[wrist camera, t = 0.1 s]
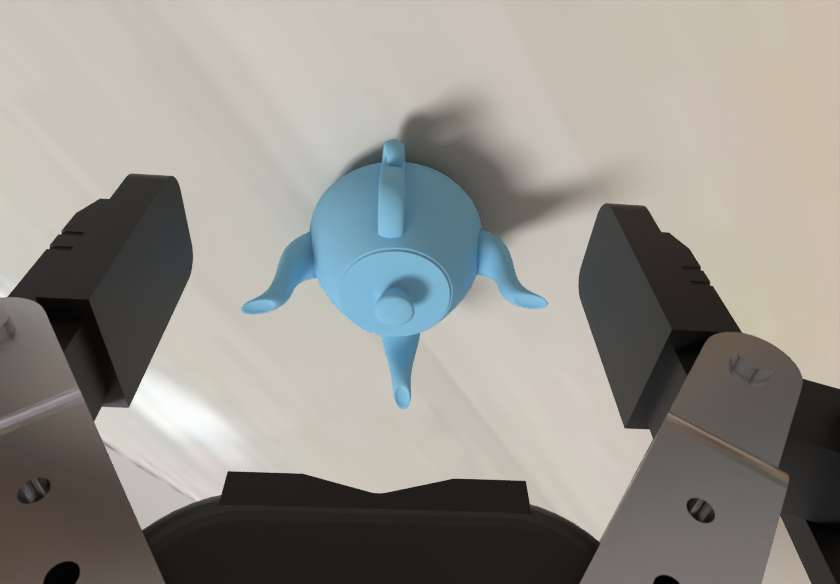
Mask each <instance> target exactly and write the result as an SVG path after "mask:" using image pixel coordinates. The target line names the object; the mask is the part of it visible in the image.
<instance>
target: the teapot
mask: <svg viewBox="0 0 840 584" xmlns="http://www.w3.org/2000/svg"><path fill="white" fill-rule="evenodd" d="M477 274H478V275H483V276H486V277H489V278H491V279H493V280H494V281H495V282H496V283H497V285H498V288H499V291H500V293H501V294H502V296H503V297H504V298H505V299H506V300H508V301H509V302H511V303H512V304H514V305H517V306H519V307H523V308H529V309H540V308H544V307H546V306H547V304H548V303H547V301H546V300H545V299H544V298H542V297H541V296H539V295H536V294H534V293H532V292H530V291H528V290H527V289H526V288H524V287H523V286H522V285H521V283H520V282H519V280H518V279H517V276H516V273H515V270H514V266H513V262H512V258H511V255H510V252H509V251H508V249H507V247H506V245H505V244H504V243H503V242H502V240H501V239H500V238H498V237H497V236H495V235H494V234H492V233H490V232H488V231H486V230H484V229H482V226H481V220H480V217H479V214H478V211H477V209H476V207H475V205H474V203H473V201H472V200H471V198H470V197H469V196H468V194H467V193H466V192H465V191H464V190H463V189H462V188H461V187H460V186H459V185H458V184H457V183H456V182H454V181H453V180H452V179H450V178H449V177H447V176H446V175H444V174H442V173H441V172H439V171H436V170H434V169H432V168H430V167H426V166H423V165H419V164H415V163H408V162H405V144H404V143H402V142H401V141H398V140H395V139H393V140H389V141H387V142H385V144H384V148H383V157H382V162H381V163H376V164H371V165H367V166H364V167H361V168H358V169H356V170H354V171H352V172H350V173H348V174H346V175H345V176H343V177H342V178H340V179H339V180H337V181H336V182H335V183H334V184H333V185H332V186H331V187H329V188H328V190H327V191H326V192H325V193H324V194H323V195H322V197H321V199H320V200H319V202H318V203H317V205H316V208H315V210H314V212H313V216H312V220H311V225H310V232H308V233H306V234H304V235H302V236H300V237H298V238H297V239H295V240H294V241H293V242H291V243H290V244H289V245H288V246H287V247H286V249H285V250H284V252H283V254H282V256H281V258H280V261H279V264H278V268H277V271H276V275H275V278H274V280H273V282H272V284H271V286H270V287H269V289H268V290H267V291H266V292H265V293H263V294H262V295H260V296H259V297H257V298H255V299H253V300H251V301H249V302H247V303H245V304H244V305H243V306H242V307H241V311H242V312H243V313H246V314H262V313H267V312H270V311H273V310H275V309H277V308H279V307H280V306H282V305H283V304H284V303H285V302H286V301H287V300H288V299H289V298H290V296H291V294H292V292H293V290H294V288H295V287H296V286H297V285H298V284H299V283H301V282H303V281H306V280H308V279H312V278H316V277H317V279H318V281H319V283H320V285H321V287H322V289H323V290H324V292H325V294H326V295H327V296H328V298H329V299H330V300H331V302H332V303H333V304H334V305H335V306H336V307H337V309H338V310H339V311H340V312H341V313H342V314H343V315H344V316H345V317H346V318H347V319H349V320H350V321H351V322H353V323H354V324H356V325H357V326H359V327H360V328H362V329H364V330H366V331H368V332H371V333H374V334H378V335H381V339H382V342H383V346H384V350H385V353H386V357H387V360H388V364H389V368H390V372H391V378H392V386H393V395H394V399H395V402H396V404H397V405H398V407H399V408H401V409H406V408H407V407H408V406H409V403H410V399H411V372H412V366H413V361H414V357H415V354H416V350H417V346H418V342H419V336H420V332H423V331H425V330H427V329H429V328H431V327H432V326H434V325H436V324H437V323H439V322H440V321H441V320H443V319H444V318H445V317H446V316H447V315H448V314H449V313H450V312H451V311H452V310H453V309H454V308H455V307H456V306H457V305H458V304H459V303H460V302H461V301H462V299H463V298H464V297H465V295H466V294H467V292H468V291H469V289H470V287H471V285H472V283H473V281H474V279H475V277H476V275H477Z"/></svg>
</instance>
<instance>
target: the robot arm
mask: <svg viewBox="0 0 840 584" xmlns="http://www.w3.org/2000/svg"><path fill="white" fill-rule="evenodd" d="M192 262H193V251H192V243H191V239H190V234H189V229H188V224H187V219H186V214H185V210H184V205H183V200H182V195H181V190H180V186H179V184H178V181H177V180H176V178H175V177H173V176H162V175H146V174H129V175H128V176H127V177H126V178H125V179H124V181H123V182H122V183H121V185H120V186H119V187H118V189H117V190H116V191H115V193H114V194H113V195H112V197H111V198H110V199H99V200H97V201H96V202H94V203H92V204H91V205H89V206H87V207H86V208H84V209H82V210H81V211H79V212H77V213H76V214H75V215H74V216H73V218H72V219H71V220H70V221H69V222H68V224H67V225H66V226H65V227H64V229H63V230H62V234H61V235H58V236H57V237H56V238H55V240H54V241H53V242H52V243H51V244H50V249H46V251H45V252H44V253H43V254H42V255H41V257H40V258H39V259H38V260H37V262H36V263H35V264H34V265H33V266H32V268H31V269H30V270H29V271H28V273H27V274H26V275H25V276H24V277H23V279H22V280H21V281H20V282H19V284H18V285H17V286H16V287H15V289H14V290H13V291H12V292H11V293H10V295H9V296H8V297H5V298H0V584H761V583H762V579H763V576H764V572H765V568H766V564H767V561H768V557H769V554H770V549H771V546H772V543H773V539H774V535H775V532H776V528H777V524H778V521H779V517H780V516H781V518H782V520H783V522H784V524H785V527H786V529H787V531H788V533H789V535H790V537H791V540H792V542H793V544H794V546H795V549H796V551H797V553H798V555H799V557H800V559H801V561H802V564H803V566H804V568H805V570H806V572H807V575H808V577H809V579H810V581H811V583H812V584H840V389H837V388H834V387H830V386H826V385H823V384H819V383H815V382H812V381H808V380H805V379H802V375H801V373H800V371H799V369H798V367H797V366H796V364H795V363H794V362H793V361H792V360H791V358H790V357H788V356H787V355H786V354H785V353H784V352H783V351H781V350H780V349H779V348H777V347H776V346H774V345H772V344H771V343H769V342H767V341H765V340H763V339H760V338H758V337H755V336H752V335H748V334H744V333H742V332H741V330H740V329H739V327H738V326H737V324H736V322H735V321H734V319H733V318H732V316H731V314H730V313H729V311H728V310H727V308H726V306H725V305H724V303H723V302H722V300H721V299H720V297H719V295H718V294H717V292H716V291H715V289H714V287H713V286H710V281H709V279H708V278H707V276H706V275H705V273H704V271H701V270H700V268H701V267H700V265H699V263H698V262H697V260H696V259H695V257H694V255H693V254H692V252H691V251H690V249H689V248H687V247H686V246H685V245H684V244H682V243H681V242H680V241H679V240H677V239H676V238H675V237H674V236H672V235H671V234H670V233H665V232H661V231H660V229H659V228H658V226H657V224H656V223H655V221H654V219H653V217H652V216H651V214H650V212H649V211H648V209H647V208H646V207H645V206H640V205H624V204H607V203H606V204H604V205H603V206H602V207H601V208H600V210H599V212H598V215H597V218H596V221H595V224H594V227H593V230H592V234H591V237H590V240H589V243H588V246H587V250H586V253H585V256H584V259H583V262H582V265H581V269H580V274H579V295H580V299H581V303H582V305H583V308H584V311H585V314H586V317H587V320H588V323H589V326H590V329H591V332H592V334H593V337H594V340H595V343H596V346H597V349H598V352H599V355H600V358H601V361H602V364H603V366H604V369H605V372H606V375H607V378H608V381H609V384H610V387H611V390H612V393H613V396H614V398H615V401H616V404H617V407H618V410H619V413H620V416H621V419H622V422H623V425H624V428H631V429H650V431H651V434H652V437H653V441H652V443H651V444H650V446H649V448H648V450H647V452H646V454H645V456H644V458H643V459H642V461H641V463H640V465H639V467H638V469H637V471H636V473H635V475H634V477H633V478H632V480H631V482H630V484H629V486H628V488H627V490H626V492H625V494H624V496H623V497H622V499H621V501H620V503H619V505H618V507H617V509H616V511H615V513H614V515H613V516H612V518H611V520H610V522H609V524H608V526H607V528H606V530H605V532H604V533H603V535H602V537H601V539H600V541H597V540H596V539H595V538H594V537H593V536H591V535H590V534H589V533H588V532H586V531H585V530H583V529H582V528H580V527H579V526H577V525H576V524H574V523H573V522H571V521H569V520H567V519H565V518H563V517H561V516H559V515H558V514H555V513H553V512H550V511H548V510H546V509H543V508H541V507H538V506H534V505H531V504H530V503H529V497H528V492H527V486H526V481H510V480H479V479H450V480H446V481H441V482H436V483H431V484H426V485H422V486H417V487H412V488H407V489H403V490H398V491H393V492H388V493H381V494H379V493H371V492H367V491H363V490H360V489H356V488H352V487H349V486H345V485H341V484H338V483H334V482H331V481H327V480H323V479H320V478H316V477H312V476H309V475H305V474H292V473H261V472H230V471H228V473H227V477H226V480H225V484H224V488H223V491H222V495H219V496H215V497H210V498H207V499H204V500H201V501H198V502H194V503H192V504H190V505H187V506H185V507H183V508H180V509H178V510H175V511H173V512H171V513H170V514H168V515H166V516H164V517H163V518H161V519H159V520H157V521H155V522H154V523H152V524H151V525H149V526H148V527H146V528H145V529H143V530H141V528H140V525H139V523H138V521H137V518H136V516H135V514H134V512H133V509H132V507H131V505H130V503H129V501H128V498H127V496H126V494H125V491H124V489H123V487H122V485H121V482H120V480H119V478H118V476H117V473H116V471H115V469H114V466H113V464H112V462H111V460H110V458H109V455H108V453H107V450H106V448H105V446H104V444H103V441H102V439H101V437H100V435H99V432H98V430H97V428H96V426H95V423H94V421H95V419H96V417H97V415H98V413H99V411H100V409H101V407H125V408H129V406H130V404H131V402H132V400H133V397H134V395H135V393H136V391H137V389H138V387H139V385H140V382H141V380H142V378H143V376H144V374H145V372H146V370H147V367H148V365H149V363H150V361H151V359H152V357H153V355H154V352H155V350H156V348H157V346H158V344H159V342H160V340H161V337H162V335H163V333H164V331H165V329H166V327H167V325H168V322H169V320H170V318H171V316H172V314H173V312H174V310H175V307H176V305H177V303H178V301H179V299H180V297H181V295H182V292H183V290H184V288H185V286H186V284H187V282H188V280H189V277H190V274H191V270H192Z"/></svg>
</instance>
